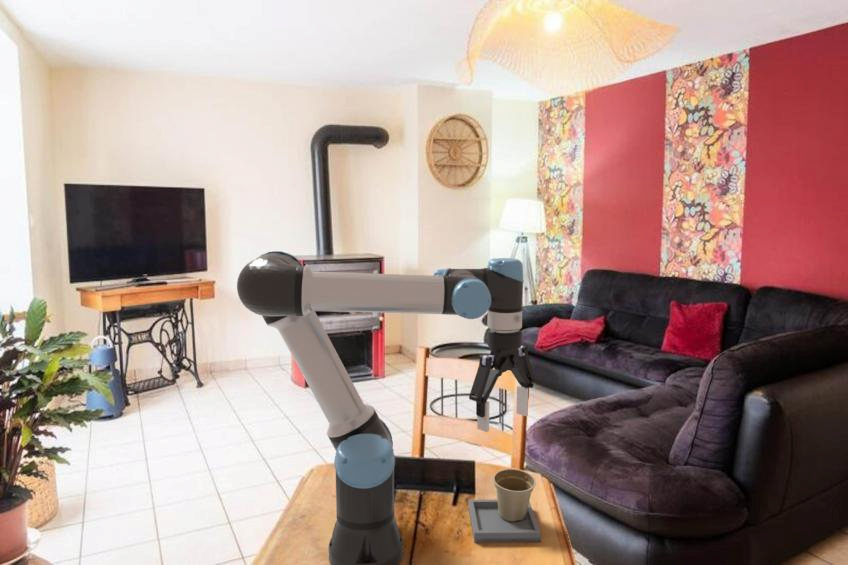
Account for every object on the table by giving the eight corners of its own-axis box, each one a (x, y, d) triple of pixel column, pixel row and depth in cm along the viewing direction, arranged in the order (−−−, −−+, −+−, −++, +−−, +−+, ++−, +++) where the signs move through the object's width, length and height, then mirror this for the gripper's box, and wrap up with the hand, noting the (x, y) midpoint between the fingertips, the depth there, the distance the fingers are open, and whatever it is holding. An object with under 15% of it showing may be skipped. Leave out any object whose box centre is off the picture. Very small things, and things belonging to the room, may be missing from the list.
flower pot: (532, 503, 142) (534, 469, 140) (535, 528, 133) (537, 492, 131) (491, 500, 143) (492, 467, 141) (492, 525, 133) (493, 490, 131)
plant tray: (474, 542, 128) (474, 532, 128) (468, 508, 142) (468, 499, 142) (540, 542, 128) (540, 532, 128) (528, 508, 142) (528, 499, 142)
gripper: (479, 341, 122) (478, 442, 125) (552, 323, 139) (549, 412, 142) (452, 335, 128) (452, 432, 131) (525, 318, 144) (524, 404, 148)
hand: (503, 422), depth 136 cm, fingers open, 13 cm apart
